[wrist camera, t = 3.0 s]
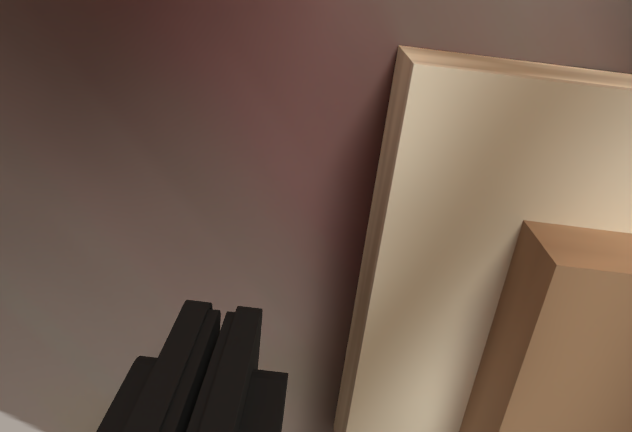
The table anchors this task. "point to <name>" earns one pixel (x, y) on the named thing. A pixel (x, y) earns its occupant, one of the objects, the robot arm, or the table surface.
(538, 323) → the tile
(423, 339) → the deck
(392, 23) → the table surface
